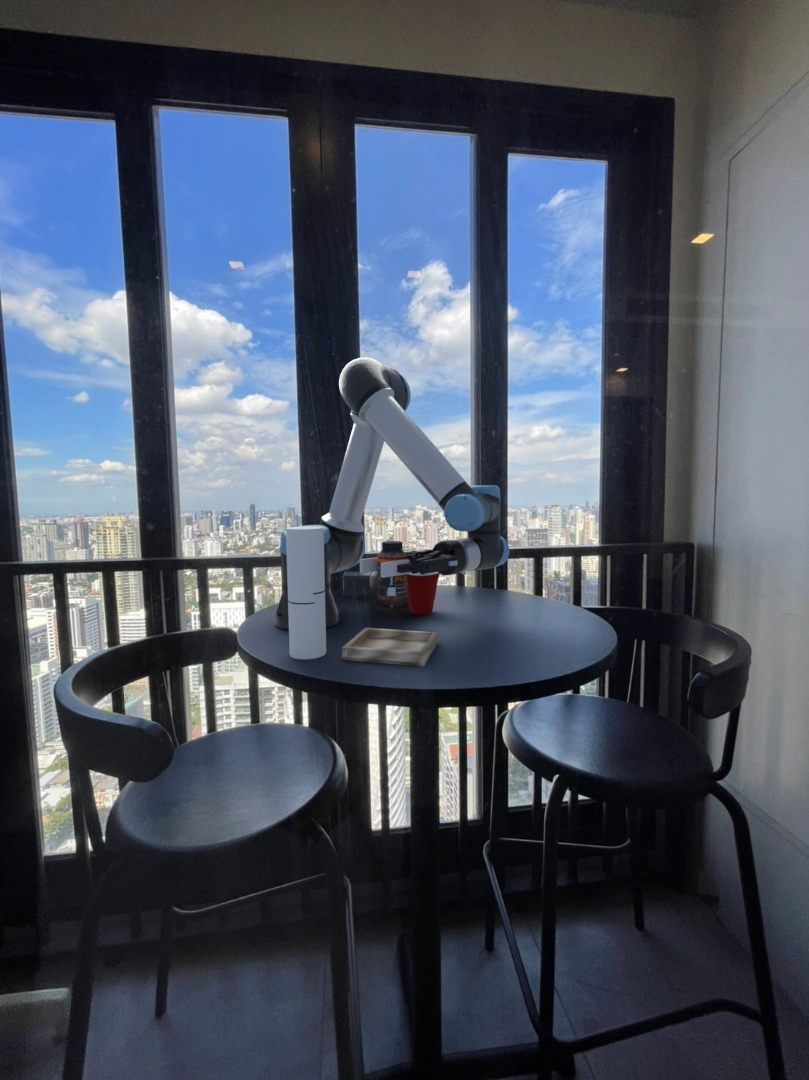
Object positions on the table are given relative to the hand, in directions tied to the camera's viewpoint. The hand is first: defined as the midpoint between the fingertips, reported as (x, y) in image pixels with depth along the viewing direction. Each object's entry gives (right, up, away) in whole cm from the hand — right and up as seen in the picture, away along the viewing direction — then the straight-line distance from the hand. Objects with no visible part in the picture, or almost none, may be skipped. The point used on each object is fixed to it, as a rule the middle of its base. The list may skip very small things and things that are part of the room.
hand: (371, 568), depth 94 cm
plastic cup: (+11, -14, +36) cm, 40 cm away
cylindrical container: (-13, -17, +4) cm, 22 cm away
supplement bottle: (+4, -6, +4) cm, 9 cm away
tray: (+4, -17, +5) cm, 18 cm away
